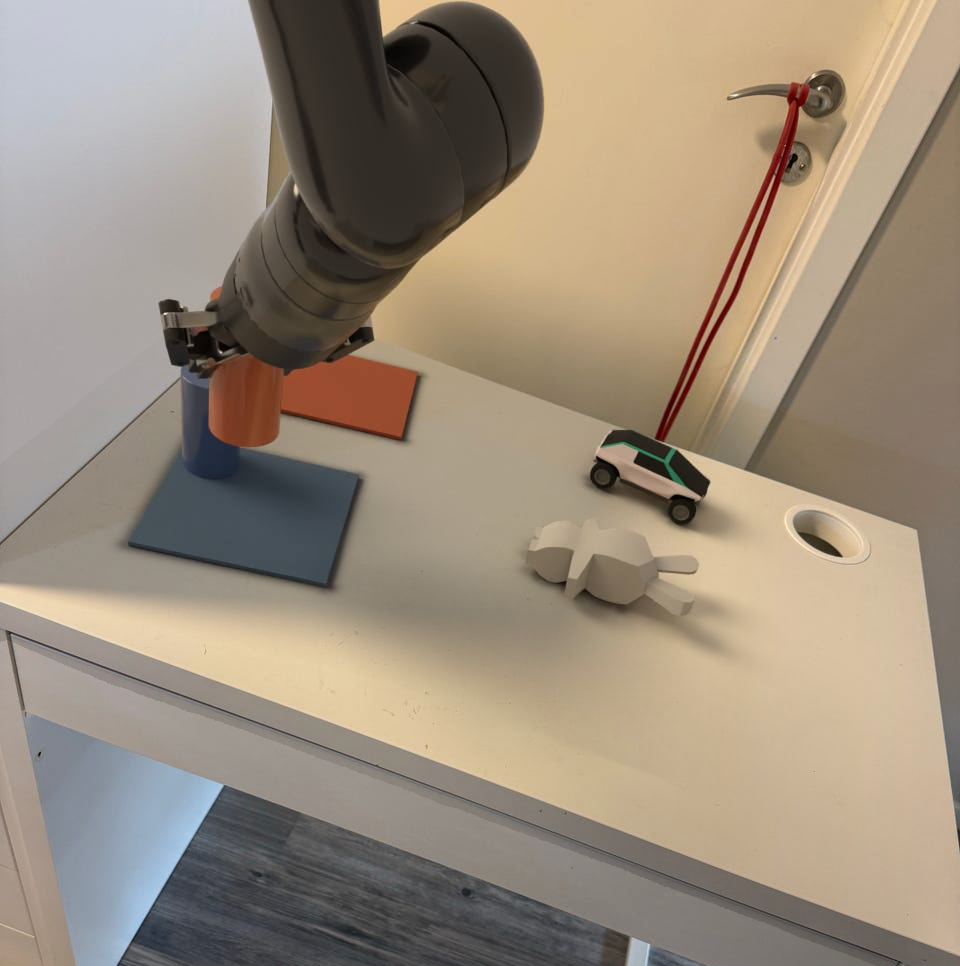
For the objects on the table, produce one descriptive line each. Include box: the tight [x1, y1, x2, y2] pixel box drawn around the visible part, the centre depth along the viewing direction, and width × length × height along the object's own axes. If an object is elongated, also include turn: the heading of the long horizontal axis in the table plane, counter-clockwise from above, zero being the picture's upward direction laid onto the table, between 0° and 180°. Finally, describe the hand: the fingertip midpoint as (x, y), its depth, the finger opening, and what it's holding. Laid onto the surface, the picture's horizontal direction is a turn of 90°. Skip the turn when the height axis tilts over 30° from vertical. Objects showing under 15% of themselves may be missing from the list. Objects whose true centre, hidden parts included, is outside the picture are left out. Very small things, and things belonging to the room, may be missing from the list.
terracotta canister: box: [209, 285, 284, 448], centre depth 63 cm, size 5×5×10 cm
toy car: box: [589, 429, 711, 525], centre depth 91 cm, size 6×12×5 cm, turn 65°
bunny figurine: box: [525, 518, 700, 617], centre depth 78 cm, size 10×5×15 cm
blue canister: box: [180, 365, 242, 479], centre depth 76 cm, size 5×5×9 cm
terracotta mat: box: [281, 354, 419, 441], centre depth 93 cm, size 16×14×1 cm
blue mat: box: [127, 447, 360, 588], centre depth 76 cm, size 16×16×1 cm
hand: (239, 363), depth 64 cm, fingers closed on terracotta canister, 5 cm apart
